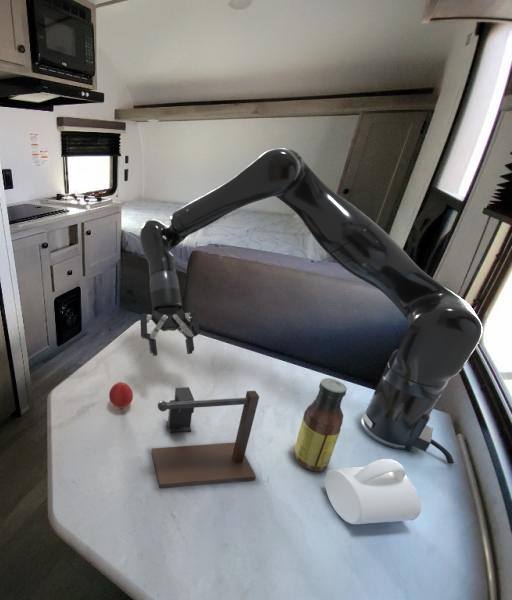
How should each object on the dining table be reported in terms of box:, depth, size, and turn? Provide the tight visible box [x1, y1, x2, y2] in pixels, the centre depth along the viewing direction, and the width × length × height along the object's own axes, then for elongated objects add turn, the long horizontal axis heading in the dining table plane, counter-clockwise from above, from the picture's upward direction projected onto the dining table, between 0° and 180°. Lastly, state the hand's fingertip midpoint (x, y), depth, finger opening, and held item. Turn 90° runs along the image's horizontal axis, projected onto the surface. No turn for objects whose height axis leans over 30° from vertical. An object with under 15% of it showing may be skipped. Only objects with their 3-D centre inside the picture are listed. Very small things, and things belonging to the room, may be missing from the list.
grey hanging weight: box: [166, 386, 196, 434], centre depth 71 cm, size 5×5×12 cm
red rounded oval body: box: [108, 380, 134, 409], centre depth 79 cm, size 6×6×8 cm
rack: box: [151, 390, 260, 489], centre depth 61 cm, size 8×19×19 cm, turn 94°
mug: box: [324, 458, 422, 525], centre depth 55 cm, size 8×10×12 cm
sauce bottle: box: [293, 377, 348, 472], centre depth 62 cm, size 7×6×20 cm
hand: (172, 354), depth 77 cm, fingers open, 8 cm apart
